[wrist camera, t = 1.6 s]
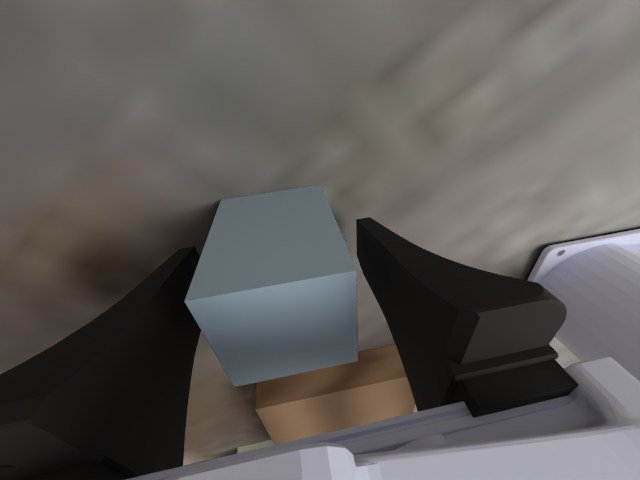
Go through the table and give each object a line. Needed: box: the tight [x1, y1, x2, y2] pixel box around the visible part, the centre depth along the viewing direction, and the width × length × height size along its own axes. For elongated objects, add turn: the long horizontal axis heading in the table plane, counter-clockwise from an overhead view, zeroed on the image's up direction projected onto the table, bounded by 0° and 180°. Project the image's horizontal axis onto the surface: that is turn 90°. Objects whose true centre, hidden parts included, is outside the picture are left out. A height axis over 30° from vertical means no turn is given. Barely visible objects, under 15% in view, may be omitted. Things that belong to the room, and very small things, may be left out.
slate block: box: [184, 185, 358, 387], centre depth 10 cm, size 4×4×6 cm
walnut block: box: [255, 344, 415, 445], centre depth 23 cm, size 12×12×3 cm
